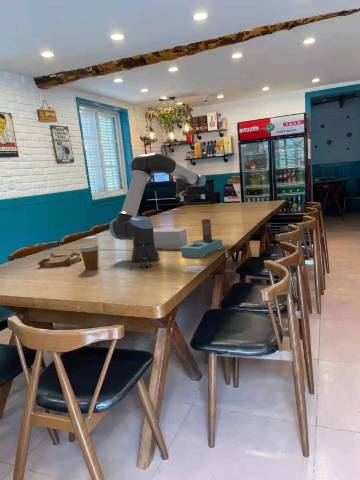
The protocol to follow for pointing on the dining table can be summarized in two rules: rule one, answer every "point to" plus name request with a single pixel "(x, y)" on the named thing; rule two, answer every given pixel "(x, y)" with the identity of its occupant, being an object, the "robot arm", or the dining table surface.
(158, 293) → the dining table surface
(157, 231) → the stack of papers
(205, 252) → the bore block
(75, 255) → the brown flat irregular piece
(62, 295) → the dining table surface
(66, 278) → the dining table surface
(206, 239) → the walnut pin
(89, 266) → the disposable coffee cup
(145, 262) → the eiffel tower figurine
